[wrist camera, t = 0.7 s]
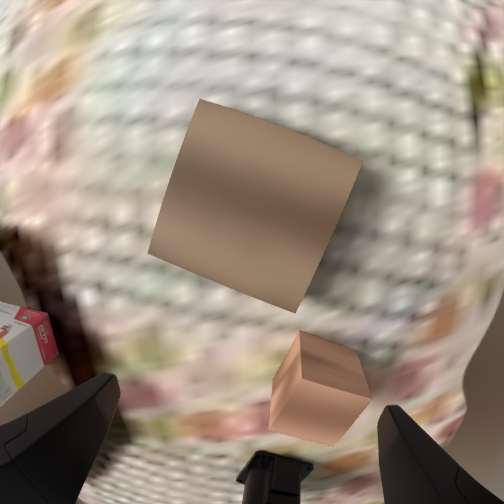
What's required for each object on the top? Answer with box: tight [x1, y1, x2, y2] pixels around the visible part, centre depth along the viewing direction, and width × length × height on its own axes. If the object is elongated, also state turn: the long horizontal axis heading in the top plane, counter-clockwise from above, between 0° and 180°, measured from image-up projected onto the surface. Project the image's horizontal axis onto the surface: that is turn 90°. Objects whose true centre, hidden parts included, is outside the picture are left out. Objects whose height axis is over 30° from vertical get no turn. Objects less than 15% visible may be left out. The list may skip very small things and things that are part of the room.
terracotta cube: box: [269, 330, 372, 446], centre depth 21 cm, size 5×5×6 cm
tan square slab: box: [148, 99, 363, 313], centre depth 19 cm, size 10×10×3 cm
